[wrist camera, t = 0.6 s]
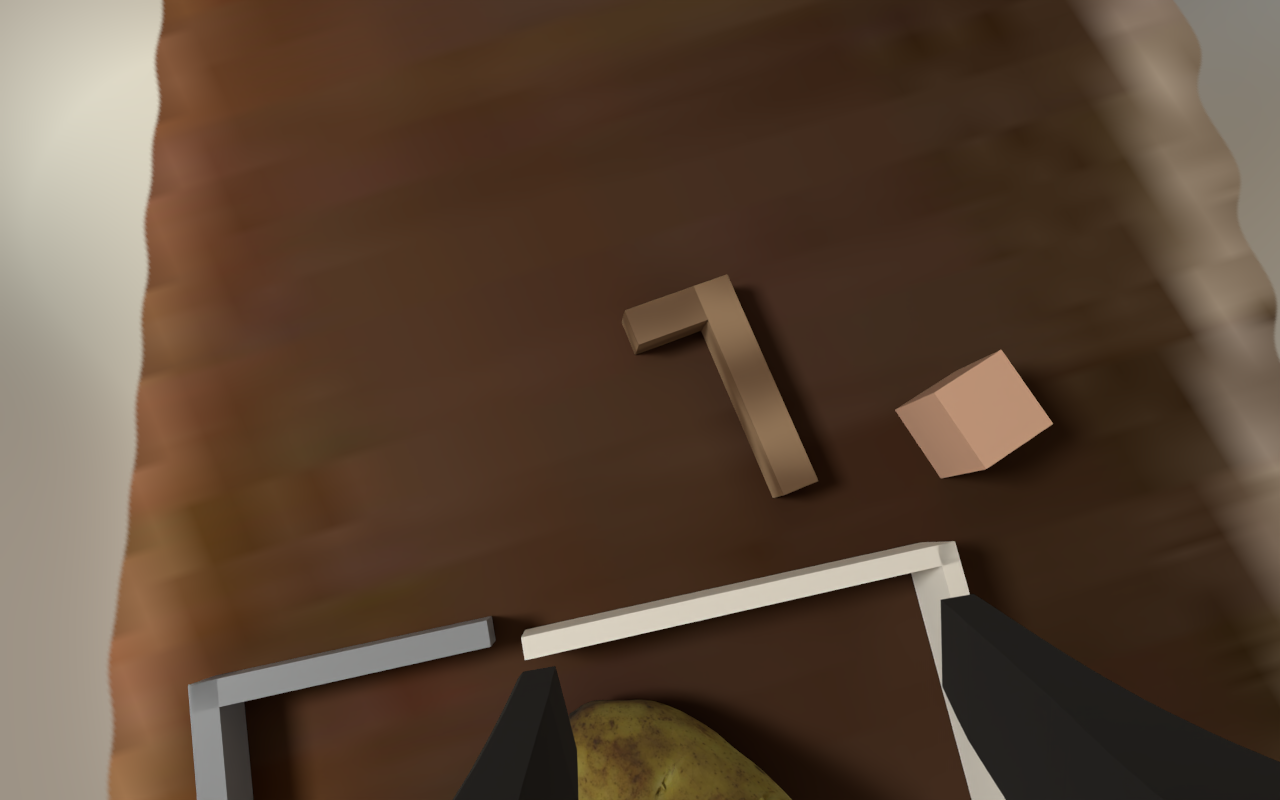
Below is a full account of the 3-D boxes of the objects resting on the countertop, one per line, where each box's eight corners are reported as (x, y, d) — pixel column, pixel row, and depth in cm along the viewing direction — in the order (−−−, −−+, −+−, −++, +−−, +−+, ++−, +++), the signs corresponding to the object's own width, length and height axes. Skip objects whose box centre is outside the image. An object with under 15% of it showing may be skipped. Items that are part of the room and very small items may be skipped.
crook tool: (805, 484, 39) (818, 480, 37) (705, 526, 38) (713, 524, 36) (719, 287, 41) (727, 274, 39) (621, 322, 40) (624, 310, 38)
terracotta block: (1001, 437, 41) (1053, 423, 37) (940, 478, 40) (986, 469, 36) (955, 371, 42) (1001, 349, 37) (894, 410, 41) (934, 392, 36)
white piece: (1019, 905, 36) (1067, 942, 32) (592, 1034, 33) (595, 1090, 29) (920, 542, 39) (954, 541, 36) (525, 629, 36) (521, 637, 33)
